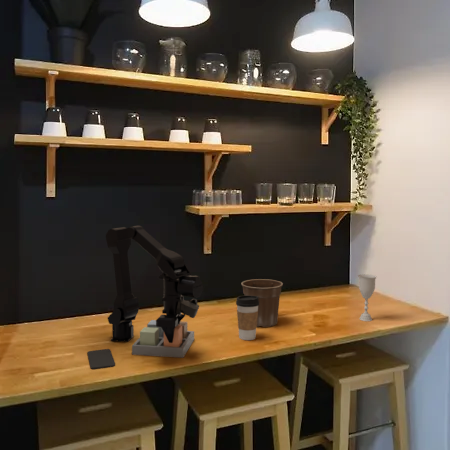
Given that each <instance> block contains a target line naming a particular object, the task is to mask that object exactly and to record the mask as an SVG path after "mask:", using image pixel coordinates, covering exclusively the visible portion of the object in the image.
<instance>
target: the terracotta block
mask: <svg viewBox="0 0 450 450" xmlns="http://www.w3.org/2000/svg"><path fill="white" fill-rule="evenodd" d="M181 343H182V325H178V326H177V327H175V331H174V338H173V342H172V343H169V341H168V339H167V337H166V335H165V333H164V346H168V347H179V346H180V345H181Z"/></svg>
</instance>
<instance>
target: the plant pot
mask: <svg viewBox="0 0 450 450" xmlns="http://www.w3.org/2000/svg"><path fill="white" fill-rule="evenodd" d="M283 284H284V283H283V282H282V281H279V280H275V279H268V278H267V279H266V278H264V279H262V278H258V279H257V278H256V279H254V278H253V279H247V280H243V281H242V282H241V286H242V292H243V294H244V295H249V296H258V298H259V305H258V318H257V327H256V328H259V327H264V328H268V327H270V328H271V327H274V326H276V325H277V324H278V318H279V308H280V297H281V294H282V287H283ZM244 295H243V296H244Z"/></svg>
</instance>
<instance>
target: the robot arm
mask: <svg viewBox="0 0 450 450" xmlns="http://www.w3.org/2000/svg"><path fill="white" fill-rule="evenodd" d="M132 240H133V241H134V242H136V243H137V244H138V245H139V246H140V247H141V248H142V249H143V250H145V252H147V253H148V254H149V255H150V256H151V257H153V258H154V260H155V261H156V262H155V263H156V265H157V267H158V268H159V270H160V271H161V272H162V273H161V274H160V275H159V276H157V278H158V279H159V280H163V297H162V298H161V301H162V302H163V308H162V311H161V312H162V314H161V315H160V316H158V317H157V319H155V320H156V326H157V327H161V328H162V330H163V331H164V333H165V335H166V337H167V339H168V341H169V343H172V342H173V338H174V331H175V327H177V326H178V325H180V321H182V320H183V319H184V318H185V317H186V316H188V317H189V318H191V319H194V318H195V317H196V316H197V314H198V311H199V309H200V304H198V299H199V298H200V297H201V296H202V294H203V291H204V285H203V282H202V281H201V280H200V276H199V275H192V273H191V271H190V270H189V267H188V266H187V264H186V262H185V259H184V257H183V256H182V255H181V254H179V253H177V252H176V251H173V250H171V249H167V248H166V247H165V246H164V245H163V244H162V243H160V242H159V241H158V240H156V238H154V237H153V235H151V234H150V233H148V232H147V231H146V229H145V228H144V227H143V226H141V225H134V226H133V225H132V226H130V227H125V226H123V227H116V228H115V227H114V228H109V229H108V231H107V232H106V233H105V241H106V243H107V248H108V249H109V251H111V254H112V256H113V265H114V267H113V268H114V276H115V287H116V297H115V298H114V301H113V311H112V312H111V313H110V314H109V315H108V316H107V321H108V324H110V325H112V326H111V327H112V329H111V330H112V331H111V332H112V337H111V338H110V341H112V342H127V343H128V342H129V341H130V340H131V339H132V338H134V336H135V334H134V333H135V331H134V324H133V321H135V320H136V317H137V315H138V314H139V309H140V304H139V297H138V296H136V297H135V296H134V294H133V291H132V286H131V285H132V284H131V276H130V265H129V257H128V252H129V250H130V248H131V245H132ZM184 297H190V298H192V299H191V300H185V298H184Z"/></svg>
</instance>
